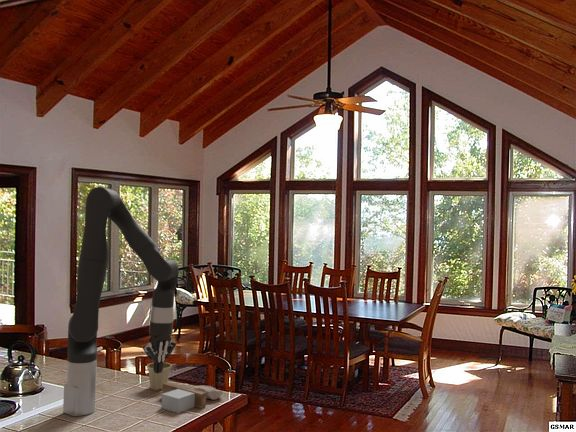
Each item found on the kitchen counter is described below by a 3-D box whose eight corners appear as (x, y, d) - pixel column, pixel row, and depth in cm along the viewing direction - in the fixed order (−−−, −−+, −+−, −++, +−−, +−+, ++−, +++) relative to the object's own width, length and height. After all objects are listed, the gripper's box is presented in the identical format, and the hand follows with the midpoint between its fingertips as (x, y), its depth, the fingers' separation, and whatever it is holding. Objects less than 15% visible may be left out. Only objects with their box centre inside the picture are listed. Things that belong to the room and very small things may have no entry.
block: (178, 413, 197) (178, 398, 197) (161, 408, 202) (161, 393, 202) (194, 407, 204) (195, 393, 204) (177, 402, 208) (178, 388, 208)
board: (200, 408, 202) (201, 394, 202) (162, 397, 213) (162, 383, 213) (205, 406, 204) (206, 392, 204) (166, 395, 215) (167, 382, 215)
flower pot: (168, 392, 219) (168, 369, 219) (143, 391, 220) (143, 368, 219) (173, 384, 229) (174, 362, 229) (149, 383, 229) (150, 361, 229)
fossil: (203, 384, 221) (224, 378, 217) (207, 401, 219) (228, 395, 215) (188, 387, 213) (209, 381, 209) (192, 406, 212) (214, 399, 207)
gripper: (153, 323, 185) (150, 378, 185) (184, 319, 196) (180, 371, 195) (138, 320, 189) (134, 373, 189) (168, 316, 200) (165, 367, 200)
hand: (157, 372), depth 192 cm, fingers closed
